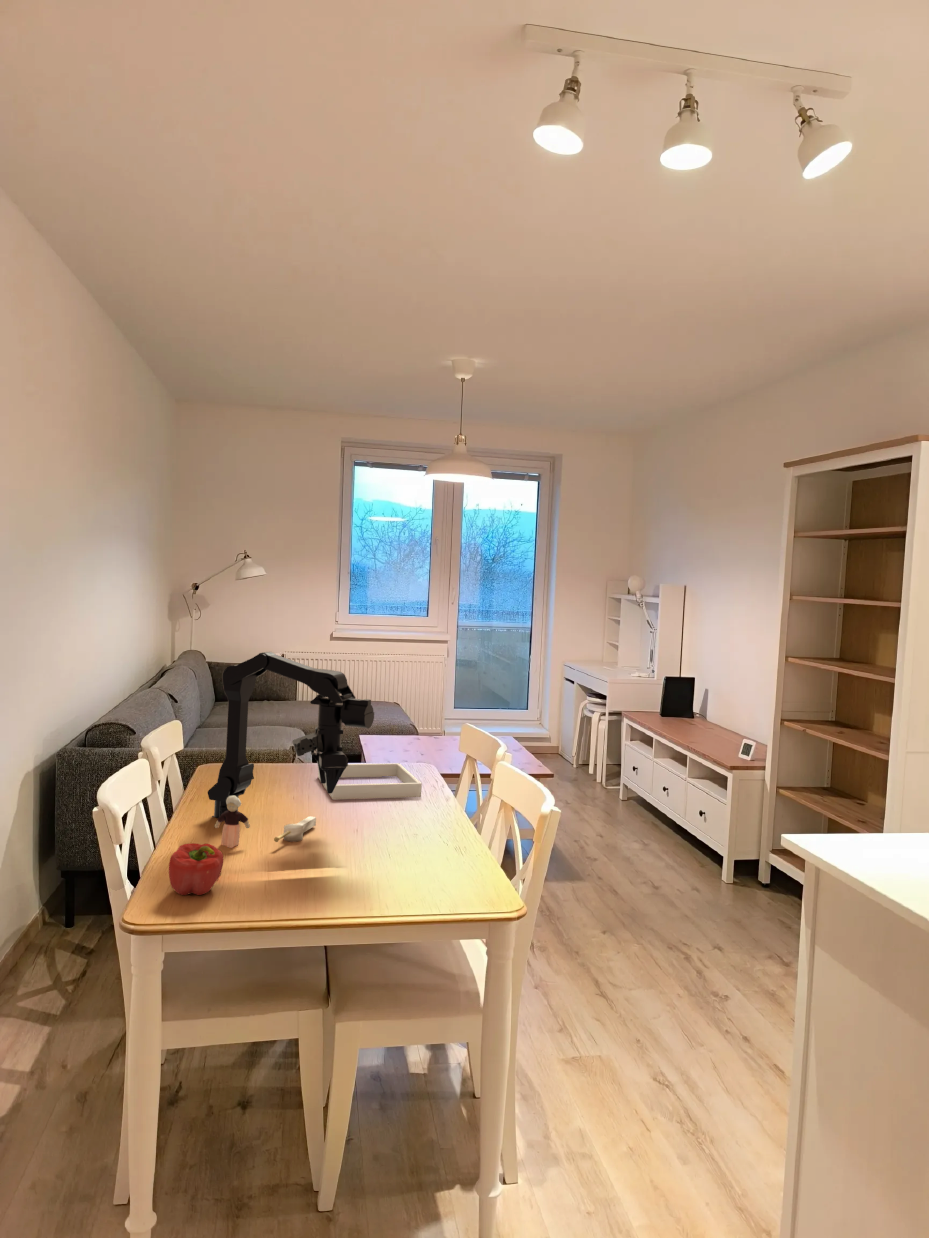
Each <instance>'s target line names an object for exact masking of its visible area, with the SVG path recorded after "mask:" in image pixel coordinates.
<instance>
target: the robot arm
mask: <svg viewBox="0 0 929 1238" xmlns="http://www.w3.org/2000/svg"><path fill="white" fill-rule="evenodd" d="M267 671H268V672H271V673H274V674H277V675H280V676H282V677H286V678H288V679H291V680H293V681H297V682H299V683H301V684H304V685H306V686H307V688H308V687H309V689H310V690H311V691H313V692H315V694H317V695H316V696H315V697H314V698H313V699H312V700H311V701H310V705H318V714H317V715H318V716H317V725H315V728H314V732H312V733H310V734H305V735H303V736H300V737H297V738H296V739H292V741H291V743H292V745H293V748H294V751H295V754H296V755H297V757H301V756H304V755H305V754H307V753H310V754H311V757H312V758H314V760H316V763H317V768H318V769H319V775H320V780H319V782H320V784H322V785H323V784H325V783H326V787H327V790H326V793H327V794H329V793H332V792H333V790H334V788H335V786H336V785H338V783H339V780H341V779H340V777H341V775H342V773H343V771H344V770H345V769H346V767H347V766H348V764H349V758H348V757H347V755H346V754H345V753H344V752H343V746H342V735H344V729H343V728H342V726H343V724H344V725H345V726H346V727H352V728H360V729H368V730H369V729H370V728H371V727H372V725H373V724H374V719H375V712H374V708H373V705H372V700H371V699H369V698H365V699H361V698H356V696H355V694H354V692H353V691H352V689H351V688H350V686H349V683H348V679H347V676H346V675H345V673H344V672H342V671H340V670H334V669H324V668H315V667H311V666H308V665H307V664H306V665H305V664H303V663H301V662H298V661H295V660H292V659H289V658H286V657H284V656H280V655H278V654H276V653H275V652H272V651H265V652H259V653H258V654H257V655H255V656H253V657H251V658H249V659H247V660H245V661H242V662H241V663H239V664H233V665H229V666H226V668H225V669H224V670H223V671H222V674H221V679H222V687H223V691H224V694H225V696H226V698H227V725H226V745H225V758H224V760H223V761H222V764H221V766H220V768H219V771H218V774H217V775H218V777H217V782H216V783H215V784H214V785H213V786H212V787H211V788H209V789H208V790H207V796H208V800H209V801H214V812H213V815H212V816H211V818H216V819H218V818H219V817H220V815H221V814H222V813H223V812H225V811H228V809H227V804H226V800H227V798H228V797H229V796H234V795H235V796H236V797H238V798H239V796H242V795H245V793H246V789H247V788H248V787H250V785H251V784H252V780H254V779H255V777H254V768H255V764H254V763H253V762H251V763H250V762H249V760H248V758H247V737H248V720H249V719H248V718H249V717H248V715H249V701H250V698H251V696H252V693H253V692H254V690H255V686H256V681H257V678H259V677H260V676H262V675H264V674H265V673H266V672H267ZM239 799H240V798H239ZM236 811H239V808H238V809H237V810H236Z"/></svg>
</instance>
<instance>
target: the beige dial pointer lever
mask: <svg viewBox="0 0 929 1238" xmlns="http://www.w3.org/2000/svg"><path fill="white" fill-rule="evenodd" d="M316 823H317V817H316V816H312V815H311V816H310V815H309V816H307V817H306V818H304V819H302V820H299V822H297V823H288V824H286V825H284V826H283V833H281V834H279V835H278V836H275V837H274V838H273V841H274V843H277V842H279V841H280V840H281V839H283V840H284V841H286V842H292V843H293V842H294V843H295V842H300V841H302V840H303V839H304V833H306V832H307V831H309V830H310V829H312V828H313V827H316V825H317V824H316Z"/></svg>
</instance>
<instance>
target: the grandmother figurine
mask: <svg viewBox="0 0 929 1238" xmlns="http://www.w3.org/2000/svg"><path fill="white" fill-rule="evenodd" d="M238 797H239V796H238ZM238 797H236V796H235V795H234V796H229V797H228V798H227V800H226V804H227V809H228V811H225V812H223V813H222V814H221V815H220V817H219V818H216V819H217V820H216V822H215V824H214V828H215V829H218V828H220V825H221V823H222V822H223V823H224V824H223V826H222V831H221V833H222V834H221V840H220V841H221V843H220V844H221V846H225V847H227V848H234V847H236V846H239V845H240V837H241V836H240V834H241V833H240V832H241V830H240V827H241V826H240V822H241V823H242V824H244V826H245V828H246V829H249V828H251V825H250V824H249V822H250V821H249V818H248V817H247V815H245V814H244V813H242V811H241V812H240V811H239V807H240V806H242V802H241V800H240V798H238ZM237 809H238V811H236V810H237Z"/></svg>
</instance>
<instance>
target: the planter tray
mask: <svg viewBox="0 0 929 1238" xmlns="http://www.w3.org/2000/svg"><path fill="white" fill-rule="evenodd" d="M317 772H318V773H317V778H318V780H319V781H320V775H319V769H318V771H317ZM382 776H392V777H396V778H398V779H399V781H401V782H399V783H398V782H395V783H392V782H391V783H352V784H351V783H350V784H346V783H345V784H336V786H335V788H334V790H333V792H332V793H328V795H329V796H330V798H331V799H332V800H334V801H335V800H336V801H337V800H366V799H367V800H369V799H398V798H399V799H401V798H421V797H422V790H423V789H422V788H423V784H422V782H421V781H420V780H419V779H417V778H416V776H414V775H413V774H412V773H411V772H410V771H408V770H407V769H406V768H405V767H404V766H403V765H402V764H401V763H400V762H399V763H390V762H389V763H348V766H347V767H346V769H345V770H344V771H343V773H342V775H341V777H340V778H381V777H382ZM382 778H383V777H382ZM322 786H323V787H324V789H325V790H326V791H327V787H326V783H325V784H322Z"/></svg>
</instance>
